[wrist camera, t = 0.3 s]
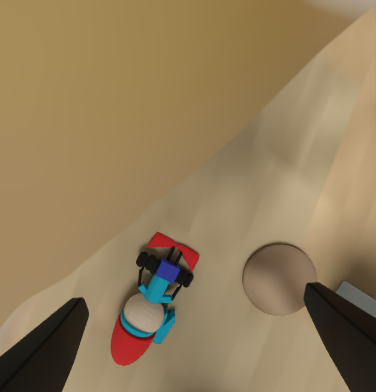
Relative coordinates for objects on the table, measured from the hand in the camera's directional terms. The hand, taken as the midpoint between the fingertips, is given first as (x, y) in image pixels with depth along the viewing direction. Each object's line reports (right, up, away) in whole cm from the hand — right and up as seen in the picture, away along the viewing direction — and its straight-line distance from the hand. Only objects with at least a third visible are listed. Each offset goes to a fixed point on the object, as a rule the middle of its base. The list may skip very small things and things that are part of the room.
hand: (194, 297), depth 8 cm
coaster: (+11, -6, +16) cm, 21 cm away
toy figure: (-5, -8, +17) cm, 19 cm away
